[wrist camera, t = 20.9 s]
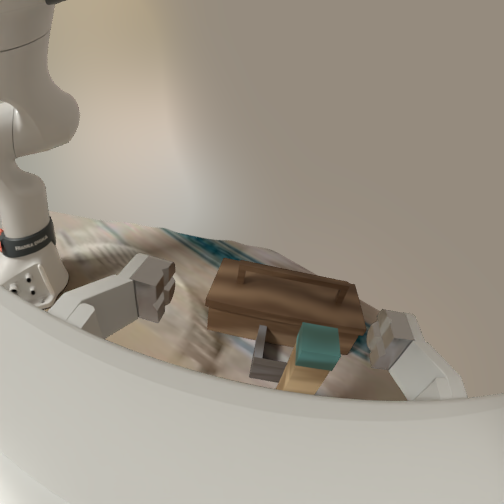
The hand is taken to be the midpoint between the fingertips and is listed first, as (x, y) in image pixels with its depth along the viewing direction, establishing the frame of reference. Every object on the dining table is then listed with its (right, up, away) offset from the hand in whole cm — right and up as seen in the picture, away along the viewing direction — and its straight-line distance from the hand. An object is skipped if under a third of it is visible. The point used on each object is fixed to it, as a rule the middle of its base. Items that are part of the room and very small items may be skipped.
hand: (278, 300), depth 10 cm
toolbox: (+4, -13, +39) cm, 41 cm away
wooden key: (+1, -23, +22) cm, 32 cm away
